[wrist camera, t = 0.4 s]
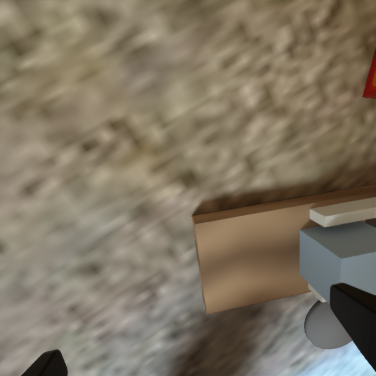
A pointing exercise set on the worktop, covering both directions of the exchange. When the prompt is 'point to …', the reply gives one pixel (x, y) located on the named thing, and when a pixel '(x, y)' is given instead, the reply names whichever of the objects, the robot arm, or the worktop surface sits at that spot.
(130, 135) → the worktop surface
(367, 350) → the robot arm
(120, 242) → the worktop surface
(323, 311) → the coaster
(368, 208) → the channel walls
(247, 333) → the worktop surface
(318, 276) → the block
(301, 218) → the channel base plate
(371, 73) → the baking soda box
